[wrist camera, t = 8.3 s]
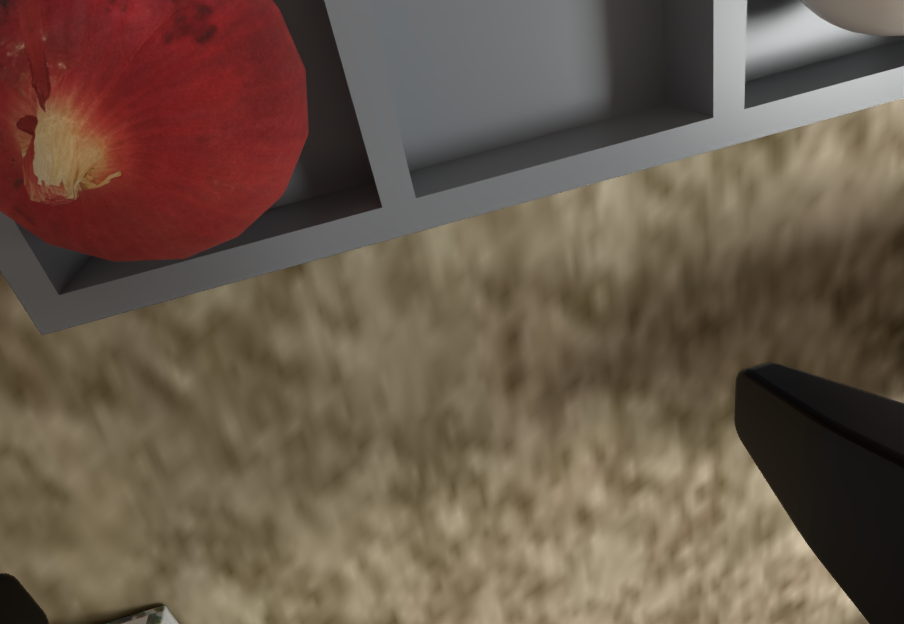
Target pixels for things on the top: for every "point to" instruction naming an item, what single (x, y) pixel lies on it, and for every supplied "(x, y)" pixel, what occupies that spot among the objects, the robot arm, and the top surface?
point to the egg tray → (488, 123)
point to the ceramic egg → (862, 15)
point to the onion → (146, 121)
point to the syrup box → (149, 617)
